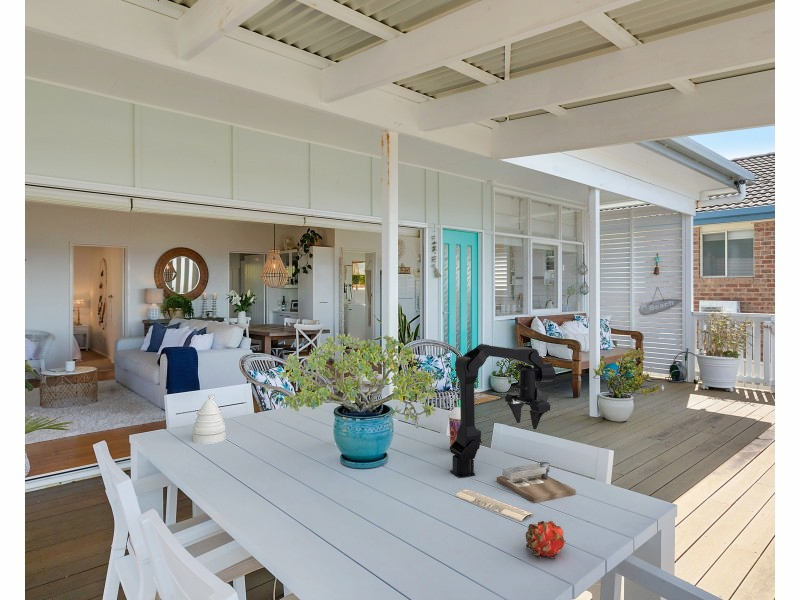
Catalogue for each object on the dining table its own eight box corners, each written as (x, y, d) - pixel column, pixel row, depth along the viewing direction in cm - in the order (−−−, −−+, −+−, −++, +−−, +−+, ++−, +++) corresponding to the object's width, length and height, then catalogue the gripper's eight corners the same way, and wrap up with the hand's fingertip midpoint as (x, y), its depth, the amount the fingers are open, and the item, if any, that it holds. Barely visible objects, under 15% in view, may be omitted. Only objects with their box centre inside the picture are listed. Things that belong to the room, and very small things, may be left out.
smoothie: (469, 448, 206) (470, 397, 206) (470, 454, 198) (470, 402, 197) (448, 447, 207) (448, 397, 207) (448, 454, 199) (448, 401, 198)
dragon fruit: (525, 568, 120) (556, 559, 128) (552, 558, 115) (583, 549, 123) (511, 529, 125) (541, 523, 132) (537, 518, 120) (567, 512, 127)
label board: (534, 503, 153) (534, 490, 153) (496, 481, 171) (496, 470, 170) (575, 494, 160) (576, 482, 160) (535, 474, 177) (535, 463, 177)
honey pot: (200, 434, 223) (200, 392, 222) (230, 435, 222) (230, 393, 222) (187, 443, 210) (187, 399, 209) (218, 444, 209) (218, 399, 209)
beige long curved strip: (533, 518, 145) (533, 511, 145) (519, 525, 140) (519, 519, 140) (467, 493, 162) (468, 487, 162) (452, 499, 157) (453, 493, 157)
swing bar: (544, 468, 172) (544, 460, 172) (552, 472, 168) (552, 464, 168) (502, 475, 165) (502, 467, 165) (510, 479, 161) (510, 471, 161)
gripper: (563, 385, 182) (562, 430, 182) (528, 377, 199) (527, 418, 199) (537, 387, 177) (536, 433, 177) (504, 378, 194) (503, 420, 194)
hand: (526, 425), depth 187 cm, fingers open, 9 cm apart
